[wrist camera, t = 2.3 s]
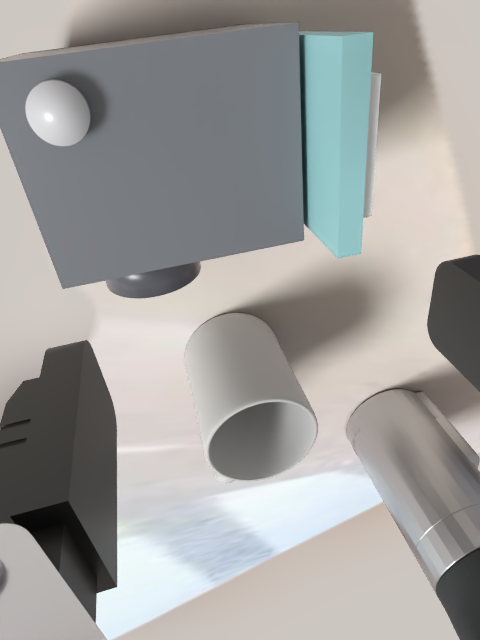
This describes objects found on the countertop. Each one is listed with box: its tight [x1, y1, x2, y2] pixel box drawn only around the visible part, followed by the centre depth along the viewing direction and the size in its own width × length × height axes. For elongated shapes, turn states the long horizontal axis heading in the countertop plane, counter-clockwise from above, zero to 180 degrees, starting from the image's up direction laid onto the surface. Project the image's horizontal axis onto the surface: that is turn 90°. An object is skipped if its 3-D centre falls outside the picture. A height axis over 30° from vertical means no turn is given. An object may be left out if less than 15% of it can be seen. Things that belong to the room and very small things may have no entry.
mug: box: [184, 313, 318, 484], centre depth 36 cm, size 12×8×11 cm
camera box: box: [0, 22, 304, 298], centre depth 25 cm, size 13×13×11 cm
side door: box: [299, 31, 381, 258], centre depth 24 cm, size 2×9×13 cm, turn 6°
